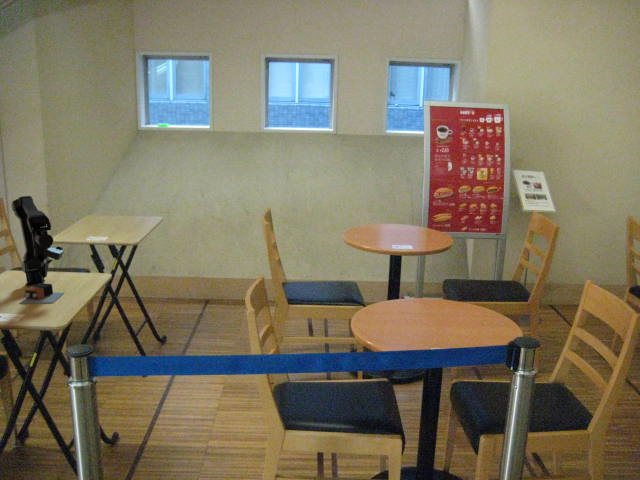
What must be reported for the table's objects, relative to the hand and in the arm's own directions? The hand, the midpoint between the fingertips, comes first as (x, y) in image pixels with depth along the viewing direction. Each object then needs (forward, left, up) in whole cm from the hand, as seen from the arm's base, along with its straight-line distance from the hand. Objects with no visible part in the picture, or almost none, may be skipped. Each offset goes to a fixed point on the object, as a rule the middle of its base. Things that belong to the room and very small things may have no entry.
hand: (44, 277), depth 253 cm
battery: (-1, +2, -6) cm, 6 cm away
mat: (0, -5, -8) cm, 9 cm away
